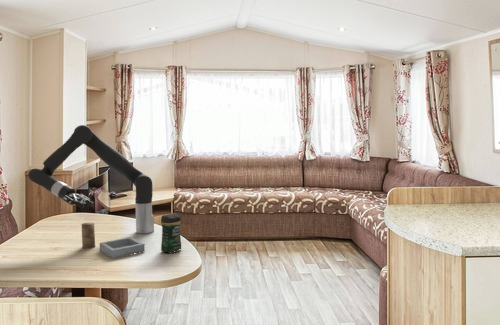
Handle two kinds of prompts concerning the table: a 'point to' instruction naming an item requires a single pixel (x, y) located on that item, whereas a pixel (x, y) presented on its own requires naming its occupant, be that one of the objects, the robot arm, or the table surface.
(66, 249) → the table surface
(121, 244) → the grey tub
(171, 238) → the coffee jar
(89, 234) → the brown cylinder
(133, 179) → the robot arm
